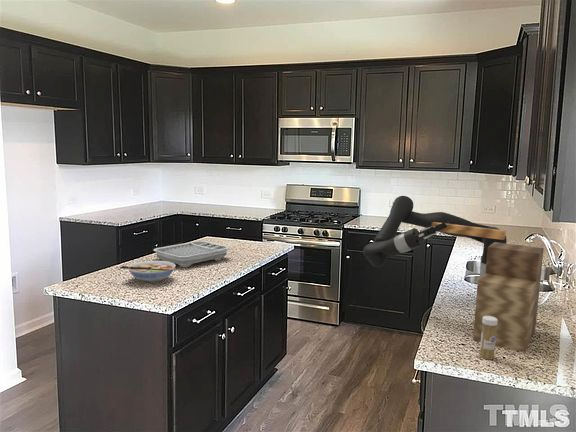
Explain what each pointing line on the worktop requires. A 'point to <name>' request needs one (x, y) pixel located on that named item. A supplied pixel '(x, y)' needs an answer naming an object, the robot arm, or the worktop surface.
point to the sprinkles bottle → (488, 337)
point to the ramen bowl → (150, 270)
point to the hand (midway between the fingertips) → (447, 224)
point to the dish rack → (191, 252)
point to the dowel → (473, 231)
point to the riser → (510, 294)
